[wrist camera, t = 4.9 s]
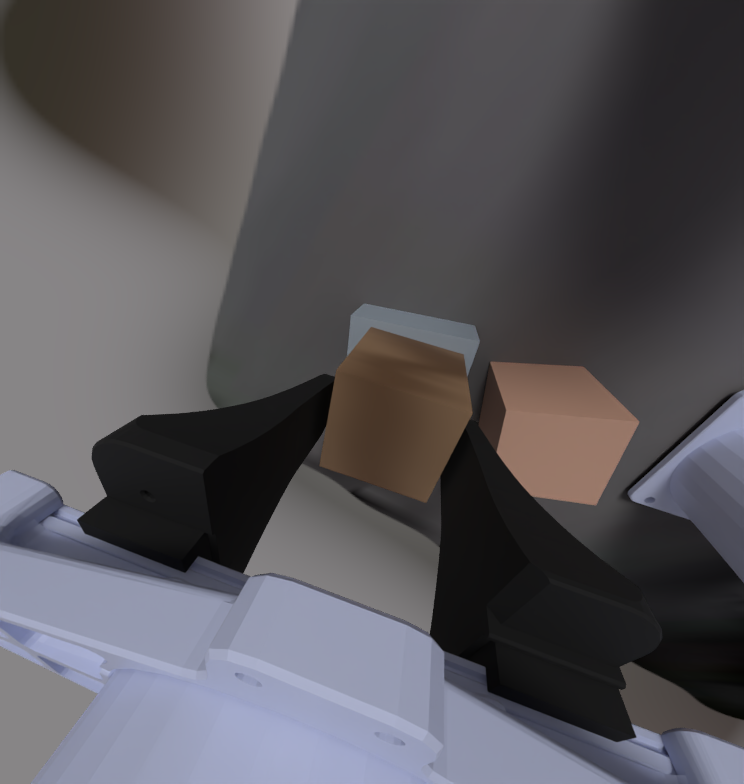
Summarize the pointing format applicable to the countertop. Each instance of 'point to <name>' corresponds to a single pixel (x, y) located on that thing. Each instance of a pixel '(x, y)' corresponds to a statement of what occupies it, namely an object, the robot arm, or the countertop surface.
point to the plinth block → (415, 330)
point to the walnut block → (396, 413)
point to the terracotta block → (555, 428)
